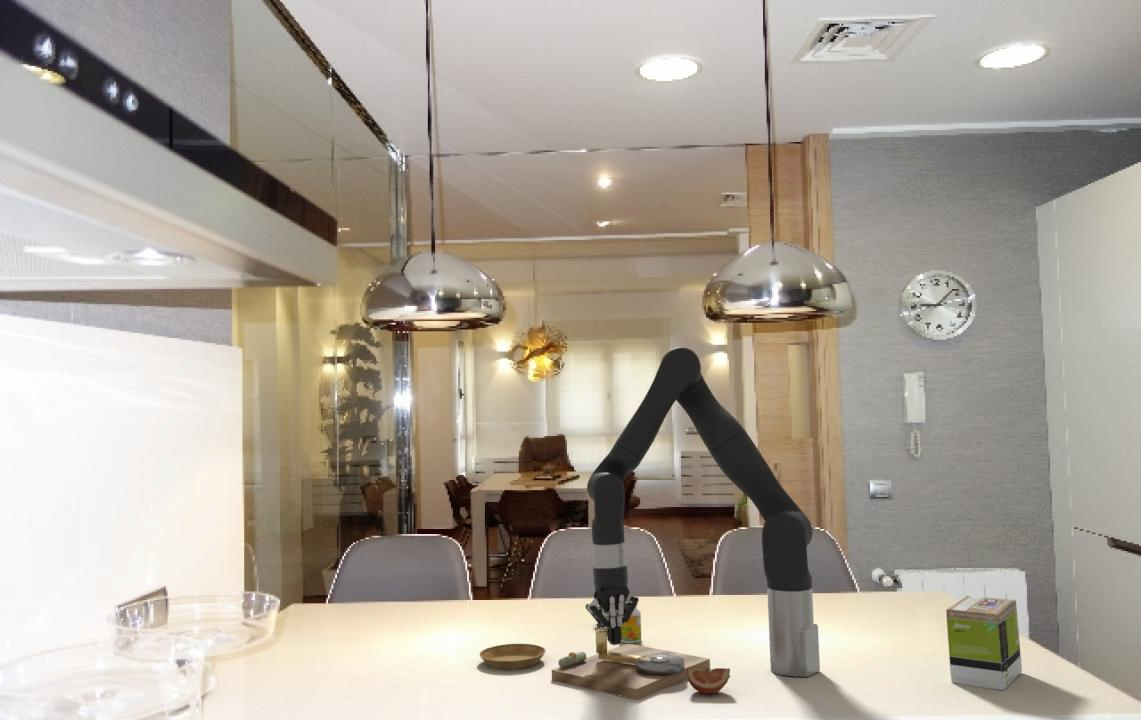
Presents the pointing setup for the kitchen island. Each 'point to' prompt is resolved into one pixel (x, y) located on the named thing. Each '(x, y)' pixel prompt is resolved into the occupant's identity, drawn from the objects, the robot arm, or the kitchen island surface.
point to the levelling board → (620, 672)
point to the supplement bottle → (632, 628)
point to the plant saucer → (512, 656)
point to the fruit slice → (707, 679)
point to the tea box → (984, 642)
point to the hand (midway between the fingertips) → (614, 643)
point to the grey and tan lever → (641, 658)
